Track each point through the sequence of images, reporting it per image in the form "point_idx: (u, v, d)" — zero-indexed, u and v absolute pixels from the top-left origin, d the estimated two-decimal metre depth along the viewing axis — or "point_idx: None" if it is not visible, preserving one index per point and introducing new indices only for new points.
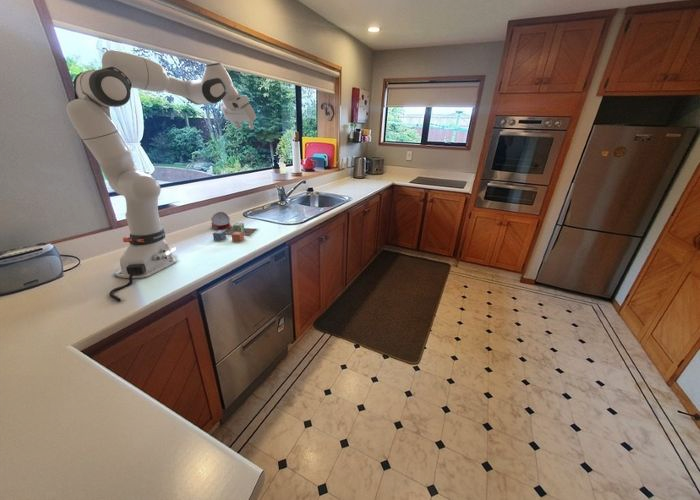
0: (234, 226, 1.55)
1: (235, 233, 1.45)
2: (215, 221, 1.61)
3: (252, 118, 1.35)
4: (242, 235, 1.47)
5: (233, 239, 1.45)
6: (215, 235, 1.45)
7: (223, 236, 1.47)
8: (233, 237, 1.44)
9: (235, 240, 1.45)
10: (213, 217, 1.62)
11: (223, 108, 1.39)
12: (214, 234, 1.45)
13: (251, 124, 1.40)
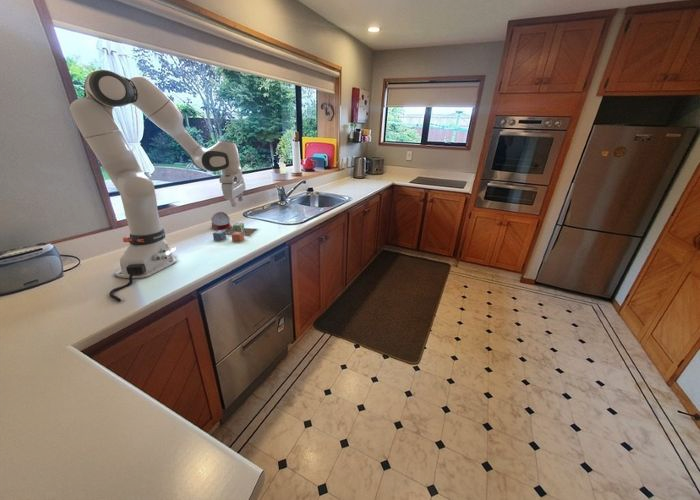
0: (234, 226, 1.55)
1: (235, 233, 1.45)
2: (215, 221, 1.61)
3: (225, 197, 1.30)
4: (242, 235, 1.47)
5: (233, 239, 1.45)
6: (215, 235, 1.45)
7: (223, 236, 1.47)
8: (233, 237, 1.44)
9: (235, 240, 1.45)
10: (213, 217, 1.62)
11: None
12: (214, 234, 1.45)
13: (231, 201, 1.35)
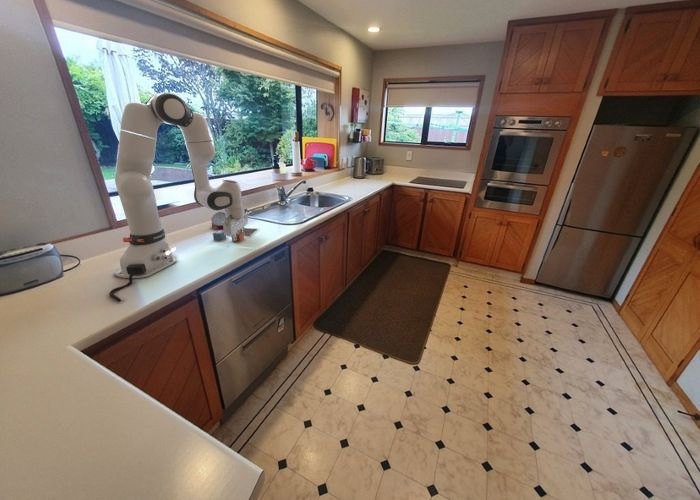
0: None
1: None
2: (215, 221, 1.61)
3: None
4: (242, 235, 1.47)
5: None
6: (215, 235, 1.45)
7: (223, 236, 1.47)
8: None
9: None
10: (213, 217, 1.62)
11: (232, 221, 1.36)
12: (214, 234, 1.45)
13: None
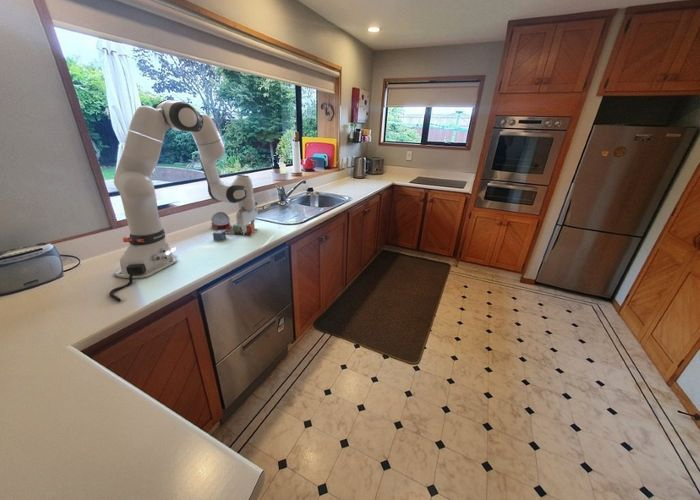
0: (234, 226, 1.55)
1: (247, 225, 1.56)
2: (215, 221, 1.61)
3: None
4: (253, 227, 1.57)
5: None
6: (215, 235, 1.45)
7: (223, 236, 1.47)
8: None
9: (247, 231, 1.56)
10: (213, 217, 1.62)
11: (244, 213, 1.46)
12: (214, 234, 1.45)
13: None
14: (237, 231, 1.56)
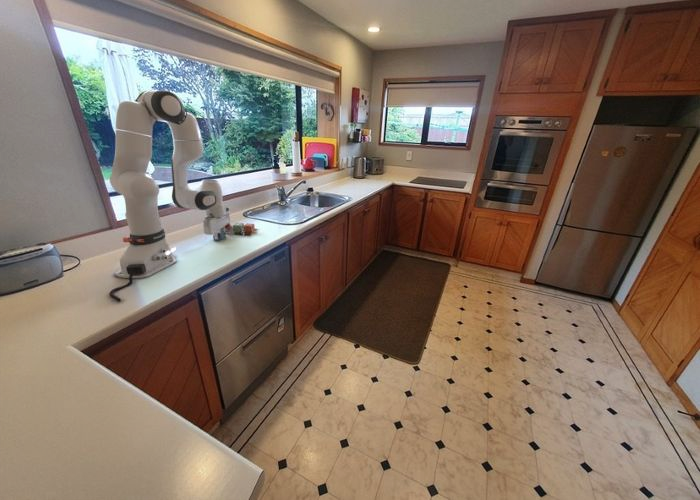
0: (234, 226, 1.55)
1: (247, 225, 1.56)
2: None
3: None
4: (253, 227, 1.57)
5: (245, 230, 1.55)
6: None
7: (223, 236, 1.47)
8: (245, 228, 1.55)
9: (247, 231, 1.56)
10: None
11: (212, 220, 1.36)
12: None
13: None
14: (237, 231, 1.56)
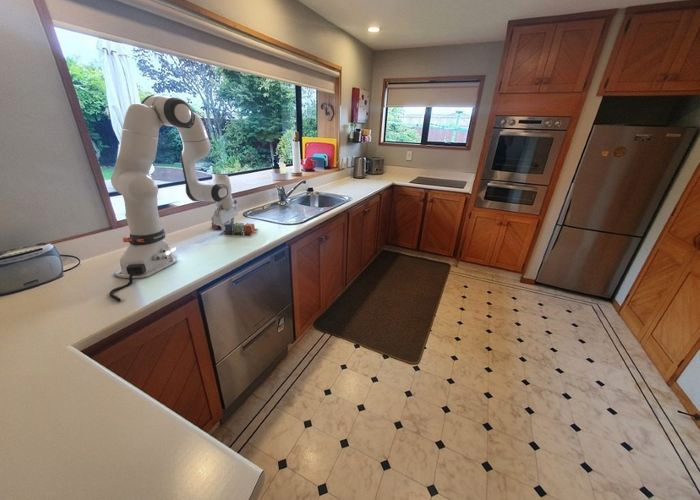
0: (234, 226, 1.55)
1: (247, 225, 1.56)
2: None
3: None
4: (253, 227, 1.57)
5: (245, 230, 1.55)
6: (225, 226, 1.56)
7: (232, 227, 1.58)
8: (245, 228, 1.55)
9: (247, 231, 1.56)
10: (213, 217, 1.62)
11: (222, 212, 1.47)
12: (224, 225, 1.55)
13: None
14: (237, 231, 1.56)
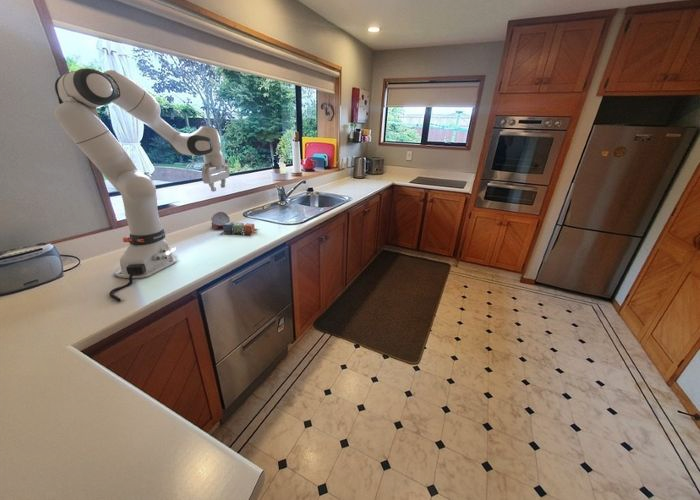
0: (234, 226, 1.55)
1: (247, 225, 1.56)
2: (215, 221, 1.61)
3: None
4: (253, 227, 1.57)
5: (245, 230, 1.55)
6: (225, 226, 1.56)
7: (232, 227, 1.58)
8: (245, 228, 1.55)
9: (247, 231, 1.56)
10: (213, 217, 1.62)
11: (211, 169, 1.34)
12: (224, 225, 1.55)
13: None
14: (237, 231, 1.56)
